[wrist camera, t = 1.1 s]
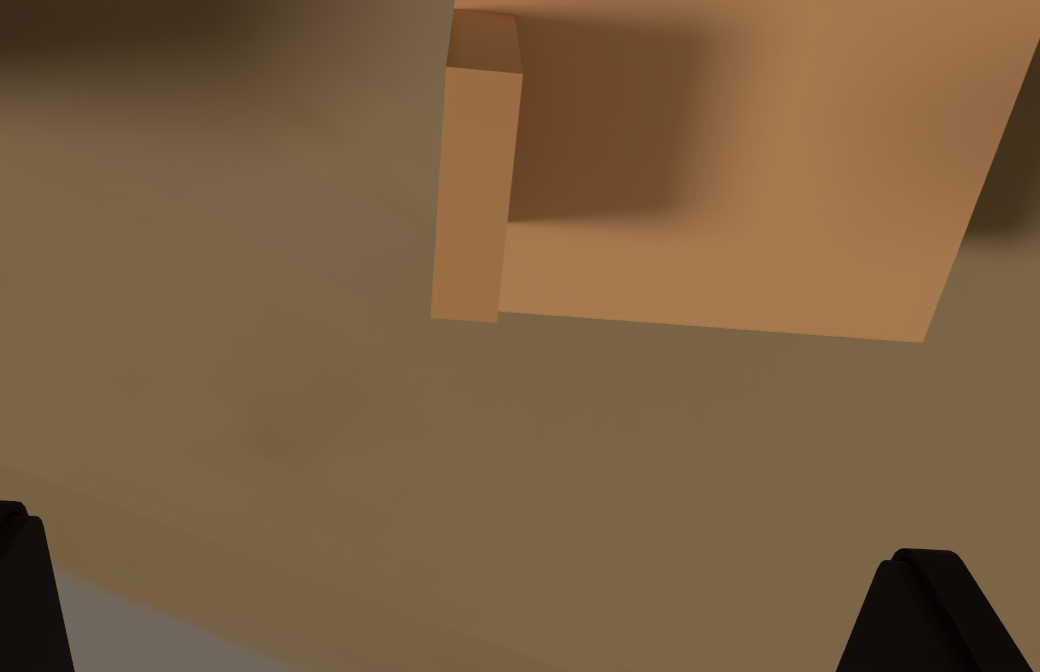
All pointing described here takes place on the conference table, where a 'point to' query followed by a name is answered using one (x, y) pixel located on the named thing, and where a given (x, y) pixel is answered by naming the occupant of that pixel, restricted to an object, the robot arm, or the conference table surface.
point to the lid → (720, 158)
